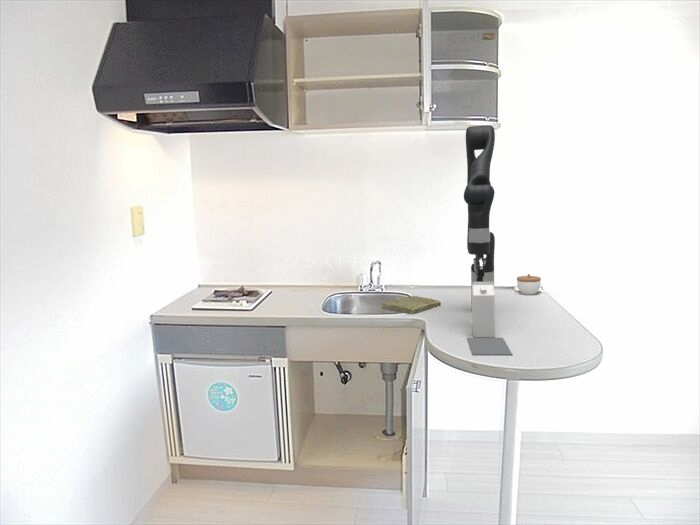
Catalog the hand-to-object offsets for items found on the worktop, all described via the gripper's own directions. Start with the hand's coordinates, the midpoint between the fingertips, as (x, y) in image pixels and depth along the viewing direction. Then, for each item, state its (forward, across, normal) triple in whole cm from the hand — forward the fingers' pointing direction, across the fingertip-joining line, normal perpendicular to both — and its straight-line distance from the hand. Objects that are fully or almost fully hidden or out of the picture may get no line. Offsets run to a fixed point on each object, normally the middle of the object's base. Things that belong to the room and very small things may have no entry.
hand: (479, 287), depth 188 cm
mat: (+15, +23, 0) cm, 28 cm away
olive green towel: (+16, -34, -26) cm, 46 cm away
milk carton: (+15, +10, 0) cm, 18 cm away
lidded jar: (+15, -61, +30) cm, 69 cm away
